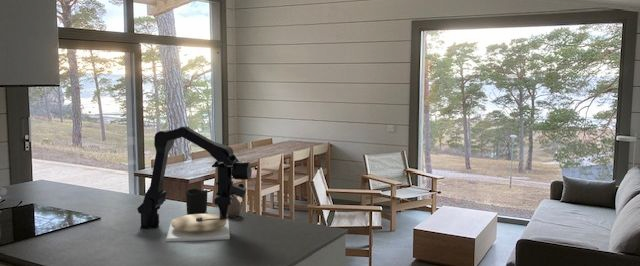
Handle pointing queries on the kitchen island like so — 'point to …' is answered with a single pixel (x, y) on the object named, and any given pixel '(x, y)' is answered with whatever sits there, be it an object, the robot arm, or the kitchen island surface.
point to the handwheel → (199, 222)
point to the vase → (234, 207)
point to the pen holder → (196, 201)
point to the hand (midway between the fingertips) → (224, 217)
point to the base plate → (198, 234)
